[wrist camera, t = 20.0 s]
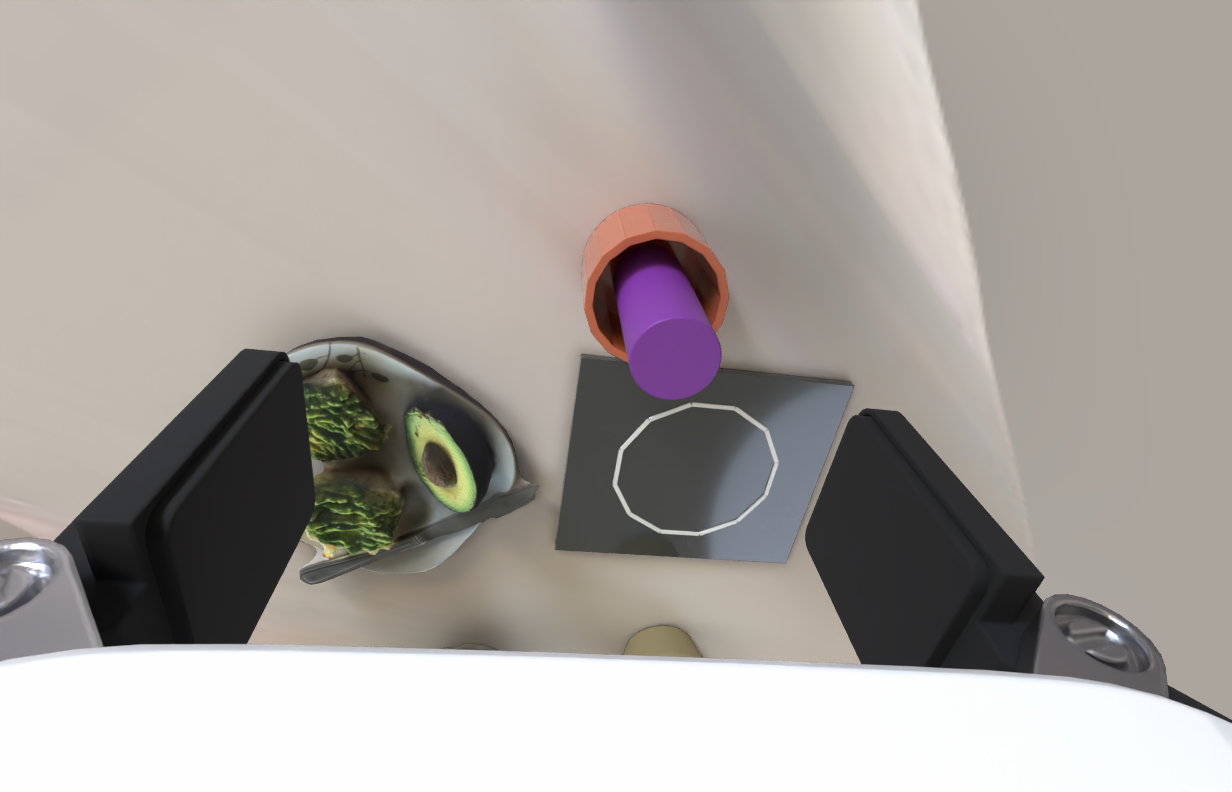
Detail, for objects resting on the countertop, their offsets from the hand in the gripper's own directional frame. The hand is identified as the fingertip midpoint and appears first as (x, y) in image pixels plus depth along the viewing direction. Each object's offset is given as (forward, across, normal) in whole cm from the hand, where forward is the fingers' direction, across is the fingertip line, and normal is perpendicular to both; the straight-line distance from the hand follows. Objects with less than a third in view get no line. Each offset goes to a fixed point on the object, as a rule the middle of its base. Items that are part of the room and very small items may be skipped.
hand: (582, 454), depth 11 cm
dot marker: (+26, -5, +5) cm, 27 cm away
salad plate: (+26, +10, +20) cm, 35 cm away
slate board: (+26, -11, +19) cm, 34 cm away
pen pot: (+26, -5, +5) cm, 27 cm away
